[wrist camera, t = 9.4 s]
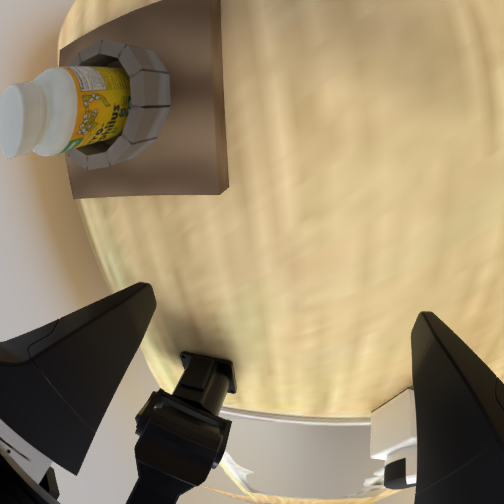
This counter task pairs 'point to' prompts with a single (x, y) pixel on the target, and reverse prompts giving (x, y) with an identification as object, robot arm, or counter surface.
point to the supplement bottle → (64, 110)
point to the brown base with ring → (158, 104)
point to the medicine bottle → (396, 440)
